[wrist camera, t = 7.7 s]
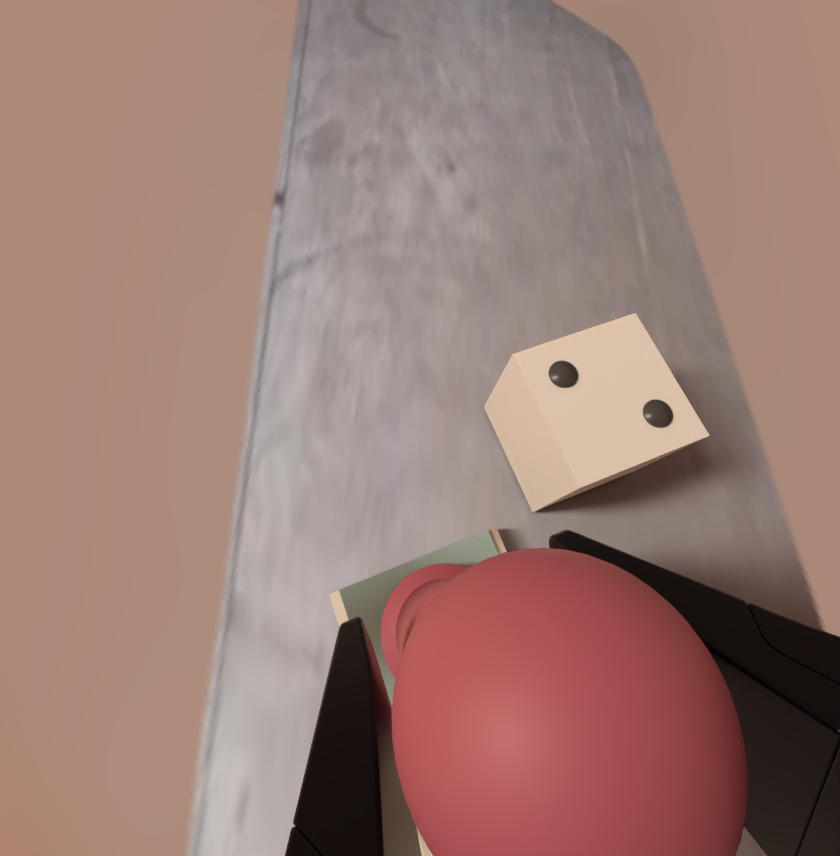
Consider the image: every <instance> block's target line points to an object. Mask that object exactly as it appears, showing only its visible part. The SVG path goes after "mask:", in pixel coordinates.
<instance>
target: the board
mask: <svg viewBox="0 0 840 856" xmlns="http://www.w3.org/2000/svg"><path fill="white" fill-rule="evenodd" d="M505 552H507V551H506V549H505V546H504V544H503V542H502V539H501V537H500V535H499V532H498V530H497V528H496V527H494V528H492V529H489V530H486V531H484V532H481V533H479V534H476V535H474V536H471V537H469V538H466V539H464V540H462V541H459V542H457V543H454V544H452V545H449V546H447V547H444V548H442V549H439V550H437V551H434V552H432V553H429V554H427V555H425V556H422V557H420V558H417V559H415V560H412V561H410V562H407V563H405V564H402V565H400V566H397V567H395V568H392V569H390V570H388V571H385V572H383V573H380V574H378V575H375V576H373V577H370V578H368V579H365V580H363V581H360V582H358V583H356V584H353V585H351V586H348V587H346V588H343V589H341V590H339V591H336V592H334V593H331V594H329V596H330V599H331V602H332V605H333V609H334V612H335V615H336V618H337V621H338V624H339V627H340V625H341V624H342V623H343V622H346V621H348V620H351V619H353V618H355V617H361V618H362V620H363V622H364V625H365V627H366V630H367V632H368V635H369V637H370V640H371V642H372V645H373V648H374V651H375V654H376V657H377V660H378V664H379V667H380V670H381V673H382V677H383V680H384V683H385V687H386V690H387V693H388V697H389V700H390V703H391V706H392V702H393V691H394V685H395V680H396V679H395V678H394V676H393V675H392V673H391V671H390V670H389V668H388V665H387V663H386V661H385V658H384V654H383V650H382V644H381V622H382V616H383V611H384V608H385V605H386V603H387V601H388V599H389V597H390V595H391V593H392V592H393V590H394V589H395V587H396V586H397V585H398V584H399V583H400V582H401V581H402V580H403V579H404V578H405V577H406V576H408V575H409V574H411V573H412V572H414V571H416V570H418V569H421V568H423V567H426V566H429V565H434V564H441V563H449V564H457V565H461V566H464V567H467V568H469V567H471V566H473V565H475V564H477V563H479V562H481V561H483V560H485V559H487V558H490V557H493V556H496V555H499V554H502V553H505ZM416 827H417V826H416ZM417 832H418V838H419V843H420V849H421V854H422V856H433V855H432V853H431V852H430V850H429V848H428V847H427V845H426V843H425V841H424V840H423V838H422V836H421V834H420V832H419V830H418V828H417Z"/></svg>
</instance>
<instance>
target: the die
mask: <svg viewBox="0 0 840 856" xmlns="http://www.w3.org/2000/svg"><path fill="white" fill-rule="evenodd" d="M484 408H485V410H486V412H487V415H488V417H489V419H490V421H491V423H492V425H493V428H494V430H495V432H496V434H497V436H498V438H499V441H500V443H501V445H502V447H503V449H504V451H505V454H506V456H507V458H508V460H509V462H510V464H511V466H512V469H513V471H514V473H515V475H516V477H517V479H518V482H519V484H520V486H521V488H522V490H523V492H524V495H525V497H526V499H527V501H528V503H529V505H530V508H531V510H532V512H535V511H538V510H540V509H542V508H545V507H547V506H550V505H552V504H555V503H557V502H560V501H562V500H565V499H567V498H570V497H572V496H574V495H577V494H579V493H582V492H584V491H587V490H589V489H592V488H594V487H597V486H599V485H602V484H604V483H607V482H609V481H611V480H614V479H616V478H619V477H621V476H624V475H626V474H629V473H631V472H634V471H636V470H638V469H640V468H642V467H644V466H646V465H649V464H651V463H653V462H655V461H657V460H659V459H661V458H663V457H665V456H668V455H670V454H672V453H674V452H676V451H678V450H680V449H682V448H684V447H687V446H689V445H691V444H693V443H695V442H697V441H699V440H701V439H704V438H706V437H708V436H710V435H709V434H708V432H707V431H706V429H705V427H704V426H703V424H702V422H701V421H700V419H699V417H698V416H697V414H696V412H695V411H694V409H693V407H692V406H691V404H690V402H689V401H688V399H687V397H686V396H685V394H684V392H683V391H682V389H681V388H680V386H679V384H678V383H677V381H676V379H675V378H674V376H673V374H672V373H671V371H670V369H669V368H668V366H667V364H666V363H665V361H664V359H663V358H662V356H661V354H660V353H659V351H658V349H657V348H656V346H655V345H654V343H653V341H652V340H651V338H650V336H649V335H648V333H647V331H646V330H645V328H644V326H643V325H642V323H641V321H640V320H639V318H638V316H637V315H636V313H634V314H631V315H628V316H625V317H622V318H619V319H616V320H613V321H610V322H607V323H604V324H601V325H598V326H595V327H592V328H589V329H586V330H583V331H580V332H577V333H574V334H571V335H568V336H565V337H562V338H559V339H556V340H553V341H550V342H547V343H544V344H541V345H538V346H535V347H532V348H529V349H526V350H523V351H520V352H517V353H514V354H513V355H512V357H511V358H510V360H509V362H508V364H507V366H506V368H505V369H504V371H503V373H502V375H501V377H500V379H499V381H498V382H497V384H496V386H495V388H494V390H493V392H492V393H491V395H490V397H489V399H488V401H487V403H486V405H485V406H484Z"/></svg>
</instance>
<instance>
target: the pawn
mask: <svg viewBox="0 0 840 856" xmlns="http://www.w3.org/2000/svg"><path fill="white" fill-rule="evenodd" d="M381 644H382V650H383V654H384V658H385V661H386V663H387V665H388V668H389V670H390V671H391V673H392V675H393V676H394V678H395V679H396V680H395V685H394V691H393V702H392V713H391V714H392V741H393V748H394V755H395V762H396V767H397V771H398V774H399V778H400V782H401V786H402V790H403V794H404V797H405V800H406V802H407V805H408V808H409V810H410V813H411V815H412V818H413V820H414V823H415V825H416V826H417V828H418V830H419V832H420V834H421V836H422V838H423V840H424V841H425V843H426V845H427V847H428V848H429V850H430V852H431V853H432V855H433V856H735V855H736V852H737V849H738V846H739V843H740V840H741V836H742V831H743V826H744V822H745V817H746V807H747V797H748V768H747V760H746V752H745V744H744V740H743V735H742V731H741V727H740V722H739V718H738V715H737V712H736V709H735V706H734V703H733V700H732V697H731V694H730V691H729V689H728V687H727V685H726V682H725V680H724V678H723V676H722V674H721V671H720V669H719V668H718V666H717V664H716V662H715V661H714V659H713V657H712V656H711V654H710V652H709V651H708V649H707V648H706V646H705V645H704V643H703V642H702V641H701V639H700V638H699V637H698V635H697V634H696V633H695V631H694V630H693V628H692V627H691V626H690V624H689V623H688V622H687V621H686V620H685V619H684V618H683V616H682V615H681V614H680V613H679V612H678V611H677V610H676V609H675V608H674V607H673V606H672V605H671V604H670V603H669V602H668V601H667V600H665V599H664V598H663V597H662V596H661V595H660V594H659V593H657V592H656V591H655V590H654V589H652V588H651V587H650V586H648V585H647V584H645V583H644V582H643V581H641V580H640V579H638V578H637V577H635V576H634V575H632V574H631V573H629V572H627V571H625V570H623V569H621V568H619V567H617V566H615V565H613V564H611V563H608V562H606V561H603V560H600V559H598V558H595V557H592V556H589V555H587V554H583V553H578V552H574V551H570V550H563V549H552V548H535V549H521V550H515V551H510V552H505V553H502V554H499V555H496V556H493V557H490V558H487V559H485V560H483V561H481V562H479V563H477V564H475V565H473V566H471V567H469V568H467V567H464V566H461V565H457V564H449V563H441V564H434V565H429V566H426V567H423V568H421V569H418V570H416V571H414V572H412V573H411V574H409V575H408V576H406V577H405V578H404V579H403V580H402V581H401V582H400V583H399V584H398V585H397V586H396V587H395V589H394V590H393V592H392V593H391V595H390V597H389V599H388V601H387V603H386V605H385V608H384V611H383V616H382V622H381Z"/></svg>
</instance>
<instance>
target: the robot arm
mask: <svg viewBox="0 0 840 856" xmlns="http://www.w3.org/2000/svg"><path fill="white" fill-rule="evenodd" d="M549 546H550V548H552V549H563V550H570V551H574V552H578V553H583V554H587V555H589V556H592V557H595V558H598V559H600V560H603V561H606V562H608V563H611V564H613V565H615V566H617V567H619V568H621V569H623V570H625V571H627V572H629V573H631V574H632V575H634V576H635V577H637V578H638V579H640V580H641V581H643V582H644V583H645V584H647V585H648V586H650V587H651V588H652V589H654V590H655V591H656V592H657V593H659V594H660V595H661V596H662V597H663V598H664V599H665V600H667V601H668V602H669V603H670V604H671V605H672V606H673V607H674V608H675V609H676V610H677V611H678V612H679V613H680V614H681V615H682V616H683V618H684V619H685V620H686V621H687V622H688V623H689V624H690V626H691V627H692V628H693V630H694V631H695V633H696V634H697V635H698V637H699V638H700V639H701V641H702V642H703V643H704V645H705V646H706V648H707V649H708V651H709V652H710V654H711V656H712V657H713V659H714V661H715V662H716V664H717V666H718V668H719V669H720V671H721V674H722V676H723V678H724V680H725V682H726V685H727V687H728V689H729V691H730V694H731V697H732V700H733V703H734V706H735V709H736V712H737V715H738V718H739V722H740V727H741V731H742V735H743V740H744V744H745V752H746V760H747V768H748V797H747V807H746V817H745V822H744V827H745V828H746V829H747V830H748V832H749V833H750V834H751V836H752V837H753V838H754V839H755V841H756V842H757V843H758V844H759V846H760V847H761V848H762V849H763V851H764V852H765V853H766V855H767V856H840V637H839V636H836V635H833V634H830V633H827V632H824V631H821V630H818V629H816V628H813V627H810V626H807V625H805V624H802V623H799V622H797V621H794V620H792V619H789V618H786V617H784V616H781V615H778V614H776V613H773V612H771V611H768V610H766V609H763V608H761V607H758V606H756V605H754V604H751V603H749V604H747V603H746V602H745V601H743V600H741V599H738V598H736V597H733V596H731V595H728V594H726V593H724V592H721V591H719V590H716V589H714V588H711V587H709V586H706V585H704V584H701V583H699V582H696V581H694V580H691V579H689V578H687V577H684V576H682V575H679V574H677V573H674V572H672V571H669V570H667V569H664V568H662V567H659V566H657V565H654V564H652V563H649V562H647V561H645V560H642V559H640V558H637V557H635V556H632V555H630V554H627V553H625V552H622V551H620V550H617V549H615V548H612V547H610V546H608V545H605V544H603V543H600V542H598V541H595V540H593V539H590V538H588V537H585V536H583V535H580V534H578V533H575V532H573V531H570V530H563V531H561V532H559V533H556V534H554V535H552V536H550V539H549ZM391 713H392V706H391V703H390V700H389V697H388V693H387V690H386V687H385V683H384V680H383V677H382V673H381V670H380V667H379V664H378V660H377V657H376V654H375V651H374V648H373V645H372V642H371V640H370V637H369V635H368V632H367V630H366V627H365V625H364V622H363V620H362V618H361V617H355V618H353V619H351V620H348V621H346V622H343V623H342V624H341V625H340V627H339V631H338V635H337V640H336V644H335V648H334V652H333V656H332V661H331V665H330V669H329V673H328V677H327V682H326V686H325V690H324V694H323V699H322V703H321V707H320V711H319V715H318V720H317V724H316V728H315V732H314V736H313V741H312V745H311V749H310V753H309V757H308V762H307V766H306V770H305V774H304V779H303V783H302V787H301V791H300V795H299V800H298V804H297V808H296V812H295V816H294V821H293V824H294V825H295V827H293V828H292V829H291V832H290V837H289V841H288V845H287V849H286V854H285V856H422V854H421V849H420V843H419V838H418V832H417V827H416V825H415V823H414V820H413V818H412V815H411V813H410V810H409V808H408V805H407V802H406V800H405V797H404V794H403V790H402V786H401V782H400V778H399V774H398V771H397V767H396V762H395V755H394V748H393V741H392V714H391Z"/></svg>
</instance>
